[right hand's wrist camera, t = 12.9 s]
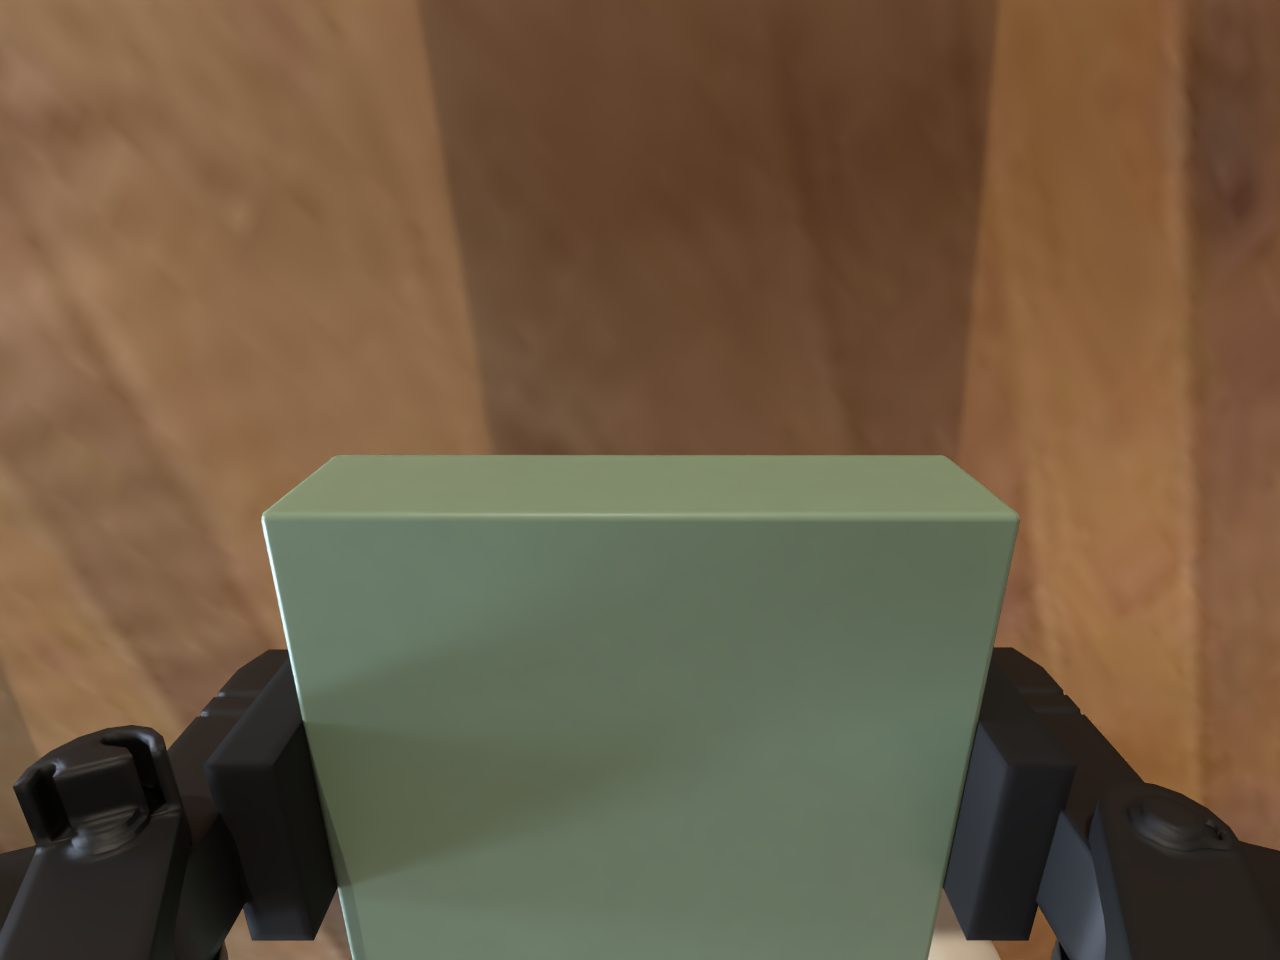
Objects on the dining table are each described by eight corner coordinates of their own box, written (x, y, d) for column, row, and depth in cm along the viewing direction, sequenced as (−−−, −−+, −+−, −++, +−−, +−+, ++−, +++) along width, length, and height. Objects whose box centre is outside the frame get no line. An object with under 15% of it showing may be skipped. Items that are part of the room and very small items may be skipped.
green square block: (435, 813, 14) (362, 1023, 10) (381, 415, 11) (254, 514, 7) (845, 813, 14) (917, 1024, 10) (899, 415, 11) (1025, 514, 7)
